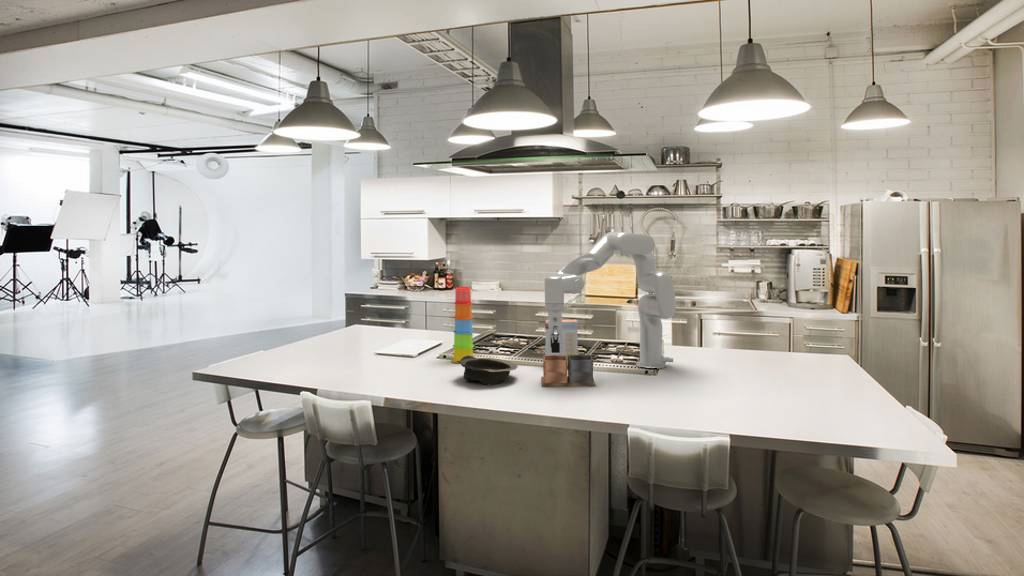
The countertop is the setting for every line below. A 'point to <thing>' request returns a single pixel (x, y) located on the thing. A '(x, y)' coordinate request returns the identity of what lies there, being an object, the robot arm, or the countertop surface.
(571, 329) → the cracker box
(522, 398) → the countertop surface
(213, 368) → the countertop surface
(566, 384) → the double bin organizer
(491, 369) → the stone bowl
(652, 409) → the countertop surface
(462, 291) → the stacking cups
